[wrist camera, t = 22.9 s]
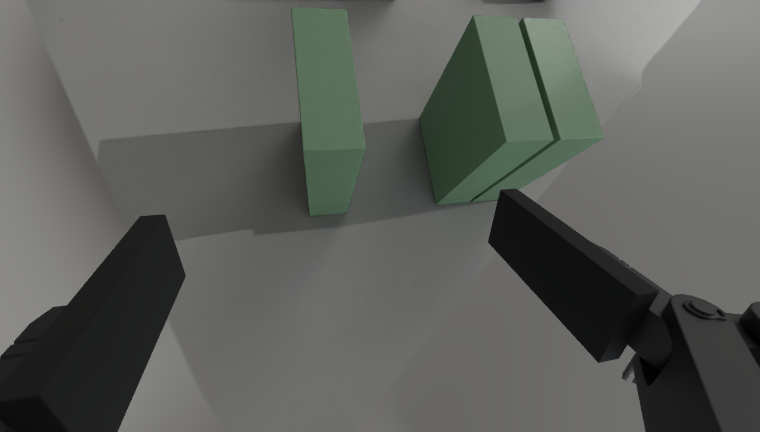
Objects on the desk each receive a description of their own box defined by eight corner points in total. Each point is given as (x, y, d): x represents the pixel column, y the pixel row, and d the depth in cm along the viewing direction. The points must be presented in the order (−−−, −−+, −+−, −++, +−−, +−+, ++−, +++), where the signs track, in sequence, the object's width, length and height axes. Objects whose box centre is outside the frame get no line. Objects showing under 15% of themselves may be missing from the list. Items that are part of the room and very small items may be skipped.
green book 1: (435, 205, 33) (506, 141, 20) (418, 117, 35) (473, 14, 23) (467, 202, 33) (554, 139, 21) (448, 117, 36) (516, 16, 24)
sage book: (309, 216, 30) (303, 151, 18) (301, 121, 33) (290, 6, 20) (347, 213, 31) (365, 148, 18) (336, 120, 33) (346, 9, 21)
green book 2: (471, 202, 33) (560, 139, 21) (453, 117, 36) (522, 17, 24) (502, 199, 34) (605, 137, 22) (481, 116, 37) (563, 19, 24)
